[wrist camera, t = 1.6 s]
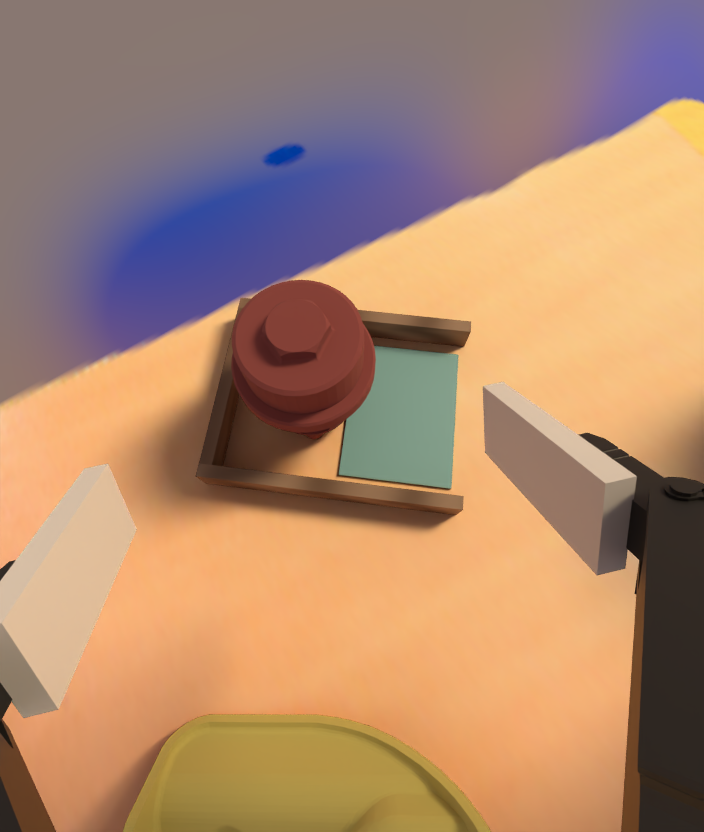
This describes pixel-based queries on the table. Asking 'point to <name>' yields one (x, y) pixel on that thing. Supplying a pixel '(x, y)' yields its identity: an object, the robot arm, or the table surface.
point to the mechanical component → (302, 357)
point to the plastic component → (295, 780)
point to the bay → (371, 424)
